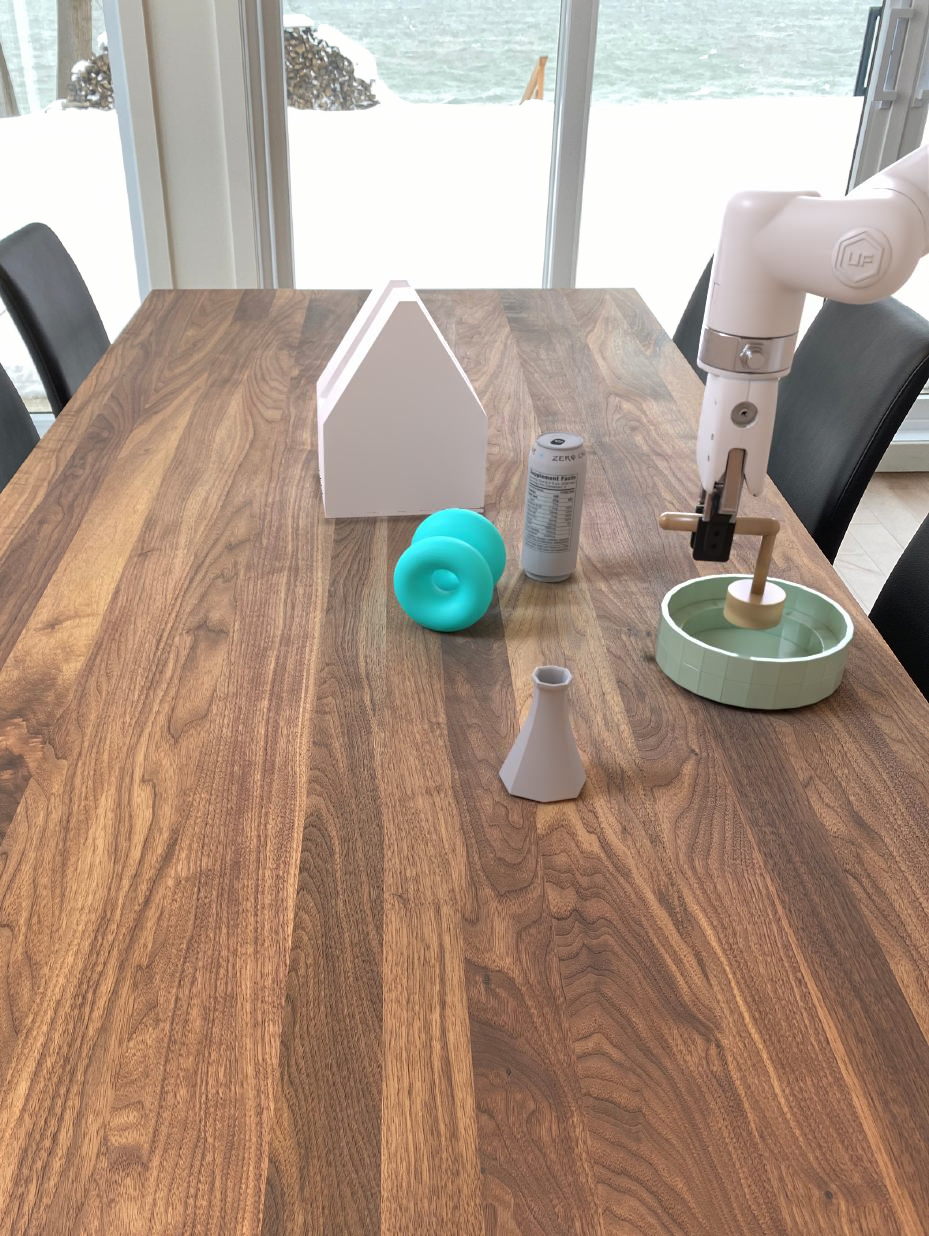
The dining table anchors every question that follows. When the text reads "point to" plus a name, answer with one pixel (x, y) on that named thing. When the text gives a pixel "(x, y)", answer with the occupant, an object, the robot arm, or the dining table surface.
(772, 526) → the wooden hook stand
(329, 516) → the milk carton
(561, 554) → the energy drink can
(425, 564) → the turquoise spool
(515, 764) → the flask
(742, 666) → the bowl
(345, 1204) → the dining table surface
